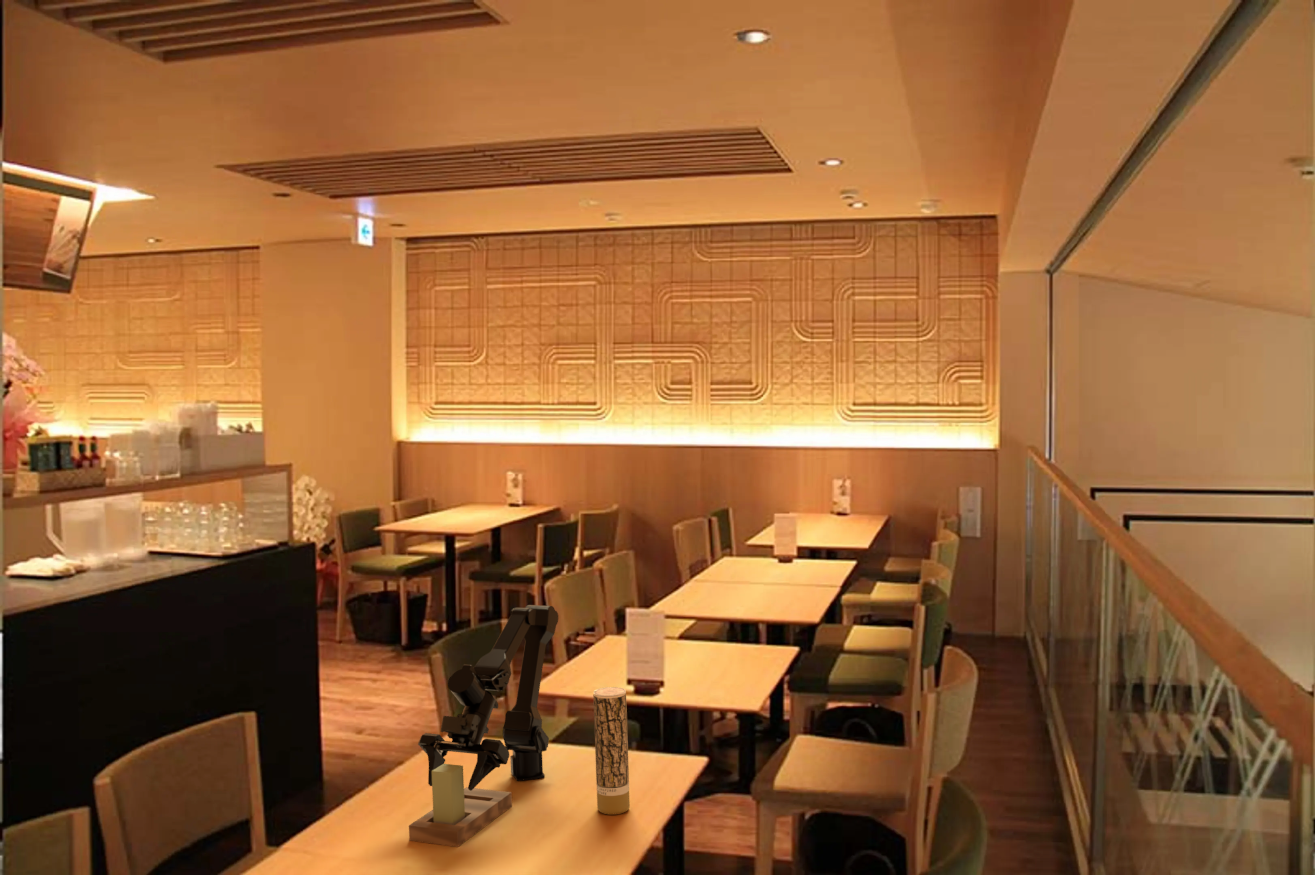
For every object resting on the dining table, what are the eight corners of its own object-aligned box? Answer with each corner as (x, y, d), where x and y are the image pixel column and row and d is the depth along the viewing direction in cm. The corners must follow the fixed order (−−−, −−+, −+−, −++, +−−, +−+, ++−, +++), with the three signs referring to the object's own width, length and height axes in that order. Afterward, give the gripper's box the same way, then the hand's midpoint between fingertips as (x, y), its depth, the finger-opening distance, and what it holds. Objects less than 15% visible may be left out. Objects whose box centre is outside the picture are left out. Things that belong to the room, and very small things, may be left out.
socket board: (466, 801, 240) (466, 787, 240) (512, 806, 237) (511, 792, 236) (409, 840, 220) (408, 825, 220) (457, 847, 216) (457, 831, 216)
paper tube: (625, 816, 229) (621, 696, 228) (593, 815, 230) (589, 695, 229) (633, 804, 235) (629, 687, 234) (601, 803, 237) (597, 686, 236)
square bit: (446, 826, 226) (443, 763, 226) (465, 829, 225) (462, 765, 224) (434, 835, 222) (431, 771, 222) (453, 837, 221) (451, 773, 220)
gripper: (420, 695, 231) (392, 764, 222) (500, 701, 225) (474, 773, 215) (442, 721, 239) (416, 789, 229) (520, 728, 232) (496, 799, 223)
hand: (449, 787), depth 224 cm, fingers open, 9 cm apart
